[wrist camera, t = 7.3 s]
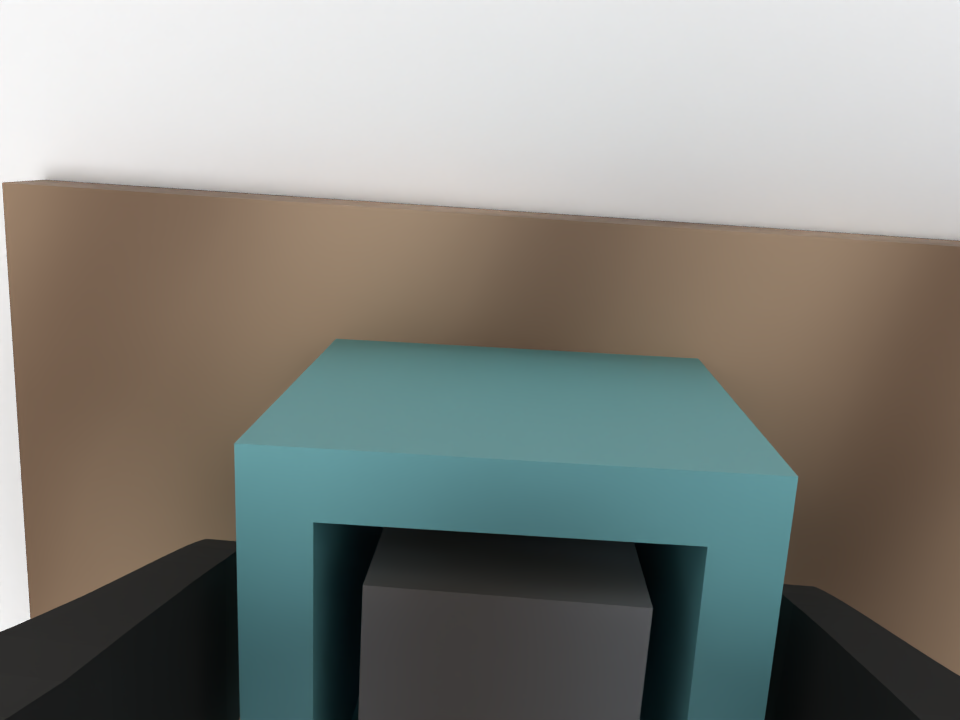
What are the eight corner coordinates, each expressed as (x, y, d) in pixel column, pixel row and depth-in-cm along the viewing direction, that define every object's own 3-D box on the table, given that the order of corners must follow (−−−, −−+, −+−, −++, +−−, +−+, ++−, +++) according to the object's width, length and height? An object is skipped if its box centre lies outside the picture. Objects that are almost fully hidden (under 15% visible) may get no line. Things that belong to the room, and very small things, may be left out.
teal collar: (698, 358, 13) (798, 477, 9) (663, 681, 15) (732, 941, 10) (336, 338, 14) (234, 442, 9) (333, 659, 15) (244, 903, 10)
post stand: (1028, 245, 14) (1411, 318, 8) (915, 781, 16) (1145, 1150, 10) (43, 180, 14) (-295, 202, 8) (72, 709, 17) (-177, 1022, 11)
